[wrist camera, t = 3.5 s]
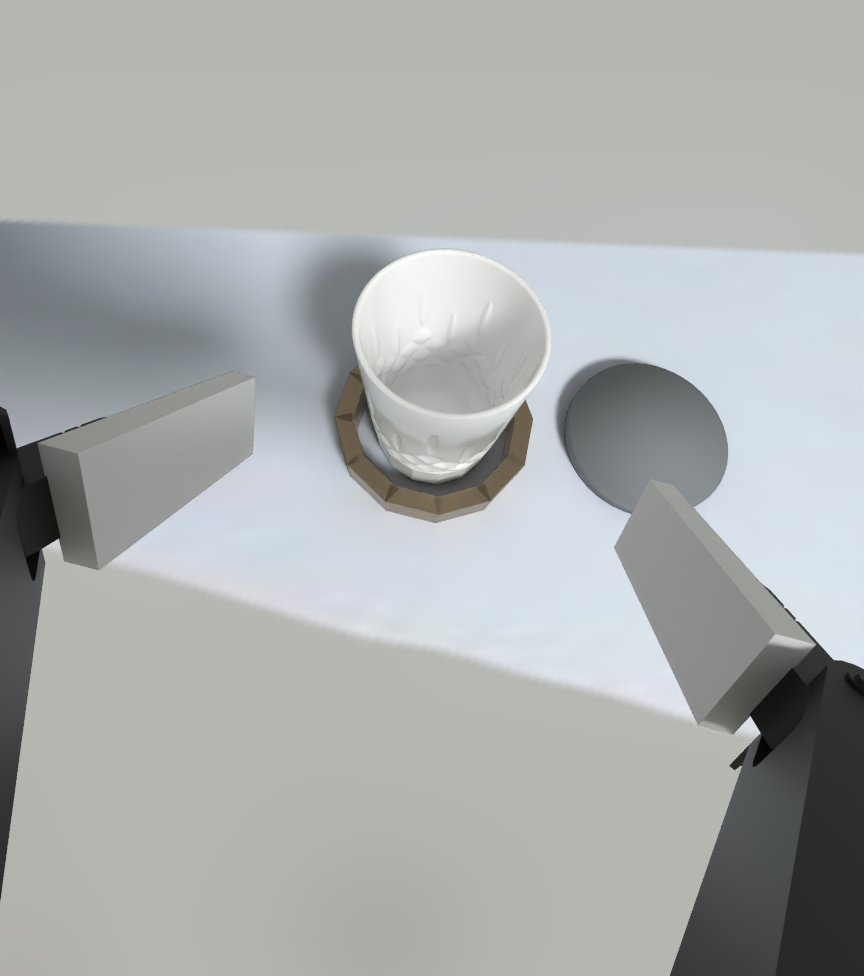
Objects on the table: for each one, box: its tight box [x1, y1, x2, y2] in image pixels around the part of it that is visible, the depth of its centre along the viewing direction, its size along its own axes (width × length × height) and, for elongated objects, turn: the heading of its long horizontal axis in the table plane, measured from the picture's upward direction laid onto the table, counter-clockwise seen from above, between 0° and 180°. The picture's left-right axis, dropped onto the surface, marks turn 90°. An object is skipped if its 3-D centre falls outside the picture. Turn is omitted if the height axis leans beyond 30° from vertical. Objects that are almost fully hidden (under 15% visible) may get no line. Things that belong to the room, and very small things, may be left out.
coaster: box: [564, 363, 728, 514], centre depth 27 cm, size 10×10×1 cm
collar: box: [335, 366, 533, 523], centre depth 25 cm, size 11×11×2 cm
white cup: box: [352, 249, 551, 484], centre depth 21 cm, size 8×8×10 cm
